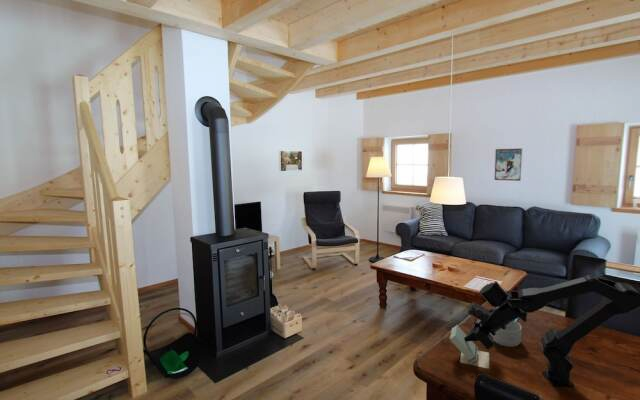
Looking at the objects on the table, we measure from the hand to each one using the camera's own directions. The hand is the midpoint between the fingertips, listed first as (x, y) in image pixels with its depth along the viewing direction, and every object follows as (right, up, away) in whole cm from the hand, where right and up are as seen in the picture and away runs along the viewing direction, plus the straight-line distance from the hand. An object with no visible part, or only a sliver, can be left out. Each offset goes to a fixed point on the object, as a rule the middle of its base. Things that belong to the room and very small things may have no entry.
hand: (465, 339), depth 121 cm
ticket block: (+2, -7, 0) cm, 8 cm away
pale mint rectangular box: (+3, -5, -1) cm, 6 cm away
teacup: (+21, -6, +11) cm, 24 cm away
